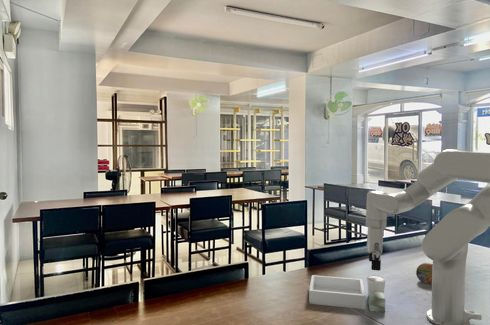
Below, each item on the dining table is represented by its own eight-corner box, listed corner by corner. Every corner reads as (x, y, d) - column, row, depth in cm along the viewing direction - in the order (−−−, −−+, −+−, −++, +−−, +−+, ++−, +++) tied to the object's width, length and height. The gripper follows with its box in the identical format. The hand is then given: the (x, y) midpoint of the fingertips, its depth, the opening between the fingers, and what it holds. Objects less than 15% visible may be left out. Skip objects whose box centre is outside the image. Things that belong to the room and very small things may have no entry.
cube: (383, 306, 127) (383, 292, 127) (384, 312, 123) (385, 298, 122) (368, 304, 129) (368, 291, 128) (370, 310, 124) (370, 297, 124)
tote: (361, 291, 140) (362, 279, 140) (365, 309, 125) (365, 295, 124) (311, 286, 145) (311, 275, 145) (309, 303, 130) (309, 290, 129)
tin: (416, 282, 149) (416, 262, 149) (416, 279, 152) (416, 260, 151) (456, 288, 142) (457, 268, 142) (456, 285, 145) (456, 266, 144)
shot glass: (386, 300, 132) (387, 282, 132) (368, 298, 133) (368, 280, 133) (383, 292, 139) (383, 275, 138) (365, 291, 140) (365, 274, 140)
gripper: (363, 217, 144) (362, 257, 145) (367, 227, 127) (366, 272, 129) (383, 218, 142) (381, 259, 143) (389, 229, 125) (387, 274, 127)
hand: (374, 265), depth 136 cm, fingers open, 9 cm apart
